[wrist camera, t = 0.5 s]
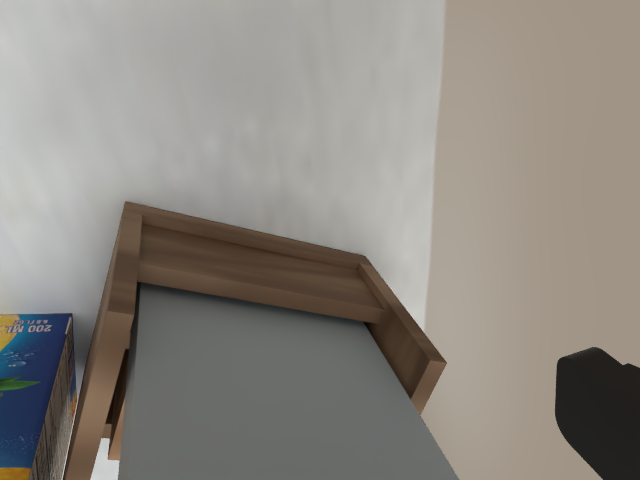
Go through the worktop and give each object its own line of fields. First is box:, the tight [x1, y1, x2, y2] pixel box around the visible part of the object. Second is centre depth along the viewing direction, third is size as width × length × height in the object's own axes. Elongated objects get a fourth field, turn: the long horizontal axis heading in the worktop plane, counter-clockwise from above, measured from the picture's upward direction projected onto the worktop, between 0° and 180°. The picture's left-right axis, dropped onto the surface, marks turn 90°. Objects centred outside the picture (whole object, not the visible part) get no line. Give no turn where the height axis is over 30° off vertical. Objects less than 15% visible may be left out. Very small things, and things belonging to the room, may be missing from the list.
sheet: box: [118, 282, 459, 480], centre depth 24 cm, size 2×13×22 cm, turn 70°
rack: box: [63, 202, 447, 480], centre depth 31 cm, size 12×16×12 cm
